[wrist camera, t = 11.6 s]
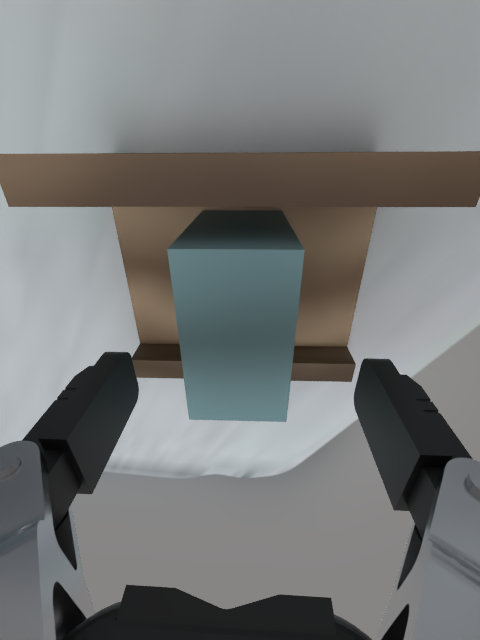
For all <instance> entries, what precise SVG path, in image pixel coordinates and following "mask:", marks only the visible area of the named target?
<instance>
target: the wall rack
mask: <svg viewBox="0 0 480 640" xmlns="http://www.w3.org/2000/svg"><path fill="white" fill-rule="evenodd" d="M0 184H1V187H2V190H3V192H4V195H5V198H6V200H7V203H8V206H9V207H112V210H113V215H114V219H115V224H116V229H117V234H118V239H119V243H120V248H121V253H122V258H123V263H124V267H125V272H126V277H127V282H128V286H129V291H130V296H131V301H132V306H133V310H134V315H135V320H136V325H137V329H138V334H139V339H140V345H139V347H138V348H137V350H136V352H135V354H134V355H133V357H132V362H133V366H134V370H135V374H136V377H139V378H184V375H183V367H182V359H181V352H180V344H179V336H178V328H177V321H176V313H175V305H174V297H173V290H172V282H171V274H170V267H169V259H168V251H167V249H168V248H169V247H170V245H171V244H172V243H173V242H174V241H175V240H176V239H177V238H178V237H179V236H180V235H181V234H182V232H183V231H184V230H185V229H186V228H187V227H188V226H189V225H190V224H191V223H192V222H193V220H194V219H195V218H196V217H197V216H198V215H199V214H200V213H201V212H202V211H203V210H282V211H283V213H284V215H285V217H286V218H287V220H288V222H289V223H290V225H291V227H292V229H293V230H294V232H295V234H296V236H297V237H298V239H299V241H300V243H301V244H302V246H303V248H304V250H305V251H304V260H303V269H302V279H301V288H300V298H299V307H298V316H297V326H296V335H295V345H294V354H293V363H292V373H291V381H341V382H352V378H353V373H354V369H355V365H356V364H355V362H354V360H353V358H352V356H351V354H350V352H349V350H348V348H347V344H348V340H349V335H350V330H351V326H352V321H353V316H354V312H355V307H356V303H357V298H358V293H359V289H360V284H361V279H362V275H363V270H364V265H365V261H366V256H367V251H368V247H369V242H370V238H371V233H372V228H373V224H374V219H375V214H376V210H377V207H476V205H477V202H478V199H479V197H480V151H465V152H284V153H103V154H0Z"/></svg>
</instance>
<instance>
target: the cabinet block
mask: <svg viewBox="0 0 480 640" xmlns="http://www.w3.org/2000/svg"><path fill="white" fill-rule="evenodd" d="M167 251H168V259H169V267H170V274H171V282H172V290H173V297H174V305H175V313H176V321H177V328H178V336H179V344H180V352H181V359H182V367H183V375H184V383H185V390H186V398H187V406H188V413H189V419H195V420H236V421H277V422H286V420H287V410H288V401H289V392H290V382H291V373H292V363H293V354H294V345H295V335H296V326H297V316H298V307H299V298H300V288H301V279H302V269H303V260H304V251H305V250H304V248H303V246H302V244H301V243H300V241H299V239H298V237H297V236H296V234H295V232H294V230H293V229H292V227H291V225H290V223H289V222H288V220H287V218H286V217H285V215H284V213H283V211H282V210H203V211H202V212H201V213H200V214H199V215H198V216H197V217H196V218H195V219H194V220H193V222H192V223H191V224H190V225H189V226H188V227H187V228H186V229H185V230H184V231H183V232H182V234H181V235H180V236H179V237H178V238H177V239H176V240H175V241H174V242H173V243H172V244H171V245H170V247H169V248H168V249H167Z"/></svg>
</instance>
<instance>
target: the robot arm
mask: <svg viewBox="0 0 480 640" xmlns="http://www.w3.org/2000/svg"><path fill="white" fill-rule="evenodd" d="M138 392H139V388H138V382H137V378H136V374H135V370H134V366H133V362H132V358H131V355H130V354H129V353H128V352H105V353H104V354H103V355H102V356H101V357H100V359H99V360H98V361H97V362H96V364H95V365H94V366H89V367H87V368H86V369H84V370H83V371H81V372H80V373H79V374H77V375H76V376H75V377H74V378H73V379H72V380H71V382H70V383H69V384H68V385H67V386H66V389H65V390H63V391H62V393H61V394H60V395H59V396H58V397H57V400H55V401H54V402H53V403H52V405H51V406H50V407H49V408H48V410H47V411H46V412H45V413H44V414H43V416H42V417H41V418H40V419H39V421H38V422H37V423H36V424H35V425H34V427H33V428H32V429H31V430H30V431H29V433H28V434H27V435H26V436H25V438H24V439H23V440H22V441H16V442H12V443H9V444H7V445H4V446H2V447H0V640H372V639H371V638H369V636H367V635H366V634H365V633H363V632H362V631H360V629H358V628H357V627H356V626H354V625H353V624H351V623H349V622H347V621H346V620H344V619H343V618H341V617H338V616H336V615H334V613H333V607H332V601H331V598H324V597H309V596H293V595H276V596H273V597H270V598H266V599H263V600H259V601H256V602H253V603H249V604H246V605H243V606H239V607H236V608H232V609H222V608H219V607H217V606H214V605H212V604H210V603H208V602H205V601H203V600H201V599H199V598H197V597H194V596H192V595H190V594H188V593H185V592H183V591H181V590H179V589H176V588H167V587H151V586H135V585H126V588H125V591H124V594H123V598H122V601H121V602H118V603H115V604H113V605H111V606H109V607H106V608H104V609H102V610H100V611H99V612H97V613H94V609H93V604H92V601H91V597H90V594H89V591H88V588H87V586H86V583H85V579H84V575H83V571H82V564H81V558H80V553H79V546H78V540H77V534H76V528H75V523H74V516H73V511H72V507H71V503H72V501H73V499H74V498H75V496H76V494H78V493H79V494H92V493H93V491H94V489H95V487H96V485H97V482H98V481H99V479H100V477H101V474H102V472H103V470H104V468H105V466H106V464H107V462H108V460H109V458H110V456H111V454H112V452H113V450H114V448H115V446H116V444H117V442H118V439H119V437H120V435H121V433H122V431H123V429H124V427H125V425H126V423H127V421H128V419H129V417H130V415H131V413H132V411H133V409H134V407H135V404H136V402H137V399H138ZM354 405H355V410H356V413H357V415H358V418H359V420H360V423H361V426H362V428H363V431H364V434H365V436H366V439H367V441H368V444H369V447H370V449H371V452H372V454H373V457H374V460H375V462H376V465H377V467H378V470H379V472H380V475H381V478H382V480H383V483H384V485H385V488H386V490H387V493H388V496H389V498H390V501H391V504H392V506H393V509H394V510H401V511H410V513H411V515H412V518H413V520H414V523H413V525H412V528H411V531H410V534H409V538H408V541H407V544H406V548H405V551H404V555H403V558H402V561H401V565H400V568H399V572H398V575H397V578H396V582H395V585H394V589H393V592H392V595H391V598H390V601H389V603H388V605H387V608H386V610H385V613H384V615H383V617H382V621H381V623H380V626H379V629H378V632H377V635H376V638H375V640H480V461H477V460H473V459H472V458H471V456H470V455H469V453H468V452H467V450H466V449H465V448H464V446H463V445H462V443H461V442H460V440H459V439H458V438H457V436H456V435H455V433H454V432H453V431H452V429H451V428H450V426H449V425H448V424H447V422H446V421H445V419H444V418H443V416H442V415H441V414H440V413H438V409H437V408H436V407H435V405H434V404H433V402H430V398H429V397H428V395H427V394H426V393H425V391H424V390H423V388H422V387H421V386H420V385H419V384H418V383H416V382H415V381H414V380H412V379H411V378H410V377H409V376H407V375H400V374H399V372H398V371H397V369H396V368H395V366H394V364H393V363H392V362H391V360H389V359H364V360H363V362H362V364H361V368H360V372H359V376H358V380H357V384H356V388H355V392H354Z"/></svg>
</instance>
